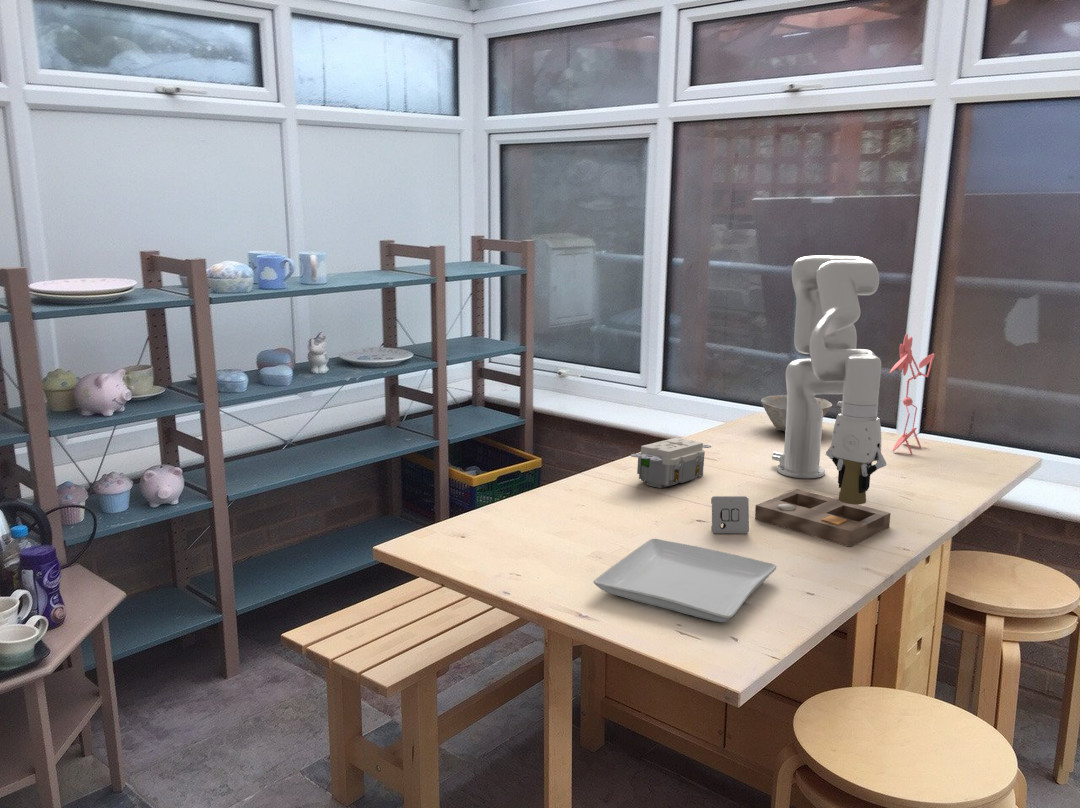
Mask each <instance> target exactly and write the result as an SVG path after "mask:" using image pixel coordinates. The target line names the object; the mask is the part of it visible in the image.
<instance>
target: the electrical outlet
mask: <svg viewBox="0 0 1080 808" xmlns="http://www.w3.org/2000/svg"><path fill="white" fill-rule="evenodd" d="M710 448H712V446H711V445H710V444H704V443H703V442H700V441H696V440H690V439H685V438H680V437H672V438H669V439H665V440H661V441H656V442H653V443H649V444H644V445H641V446H640V451H639V452H638V453H631V454H630V457H631V458H637V471H636V474H637V475H638V480H640V481H642V482H645V483H646V484H647V486H649V487H654V488H658V489H662V488H663V489H664V488H667V487H670V486H673V485H677V484H679V483H685V482H688V481H692V480H695V479H696V478H698V477H703V476H704V465H705V464H704V463H705V450H704V449H710Z"/></svg>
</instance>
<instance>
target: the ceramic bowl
mask: <svg viewBox="0 0 1080 808" xmlns="http://www.w3.org/2000/svg"><path fill="white" fill-rule="evenodd" d="M815 399H816V400H817V401H818V403H819V404H820V405H821V407H822V410H823V418H825V416H826V415H827V413H828V412H829V410H830V409H831V408H832V406H833V403H832V402H830V401H829V400H827V399H824V398H820V397H815ZM761 404H762V407H763V409H764V411H765V413H766V415H767V416H768V418H769V420H770V422H771V424H772V425H773V426H774V427H775V428H776V429H778V430H779V431H782V432H784V433H785V431H786V414H787V394H783V395H782V394H781V395H778V394H777V395H768V396H764V397H762V398H761Z"/></svg>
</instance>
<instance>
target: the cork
mask: <svg viewBox="0 0 1080 808" xmlns="http://www.w3.org/2000/svg"><path fill="white" fill-rule="evenodd" d="M843 463H844V466H845V471H844V475H843V480H842V485H841V488H839V494H838V498H837V499H838V500H839V501H841V502H843V503H847V504H858V505H865V504H866V503H867V493H866V492H867V491H866V492H863V493H859V477H860V476H861V475H862V468H861V465H862V463H857V462H853V461H848V460H843Z"/></svg>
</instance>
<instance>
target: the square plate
mask: <svg viewBox="0 0 1080 808" xmlns="http://www.w3.org/2000/svg"><path fill="white" fill-rule="evenodd" d="M777 567H778V566H777V565H776V564H774V563H770V562H767V561H762V560H758V559H755V558H749V557H746V556H742V555H737V554H734V553H733V554H732V553H729V552H724V551H722V550H721V551H720V550H717V549H716V550H715V549H710V548H707V547H701V546H696V545H691V544H686V543H680V542H676V541H670V540H665V539H660V538H650V539H648V540H647V541H646V542H644V543H642V545H640V546H638V547H637V548H635V550H633V551H632V552H630V553H628V554H627V555H625V556H624V557H623V558H622V559H620V560H619V561H618V562H616V563H615V564H614V565H612V566H611V567H610V568H608V569H607V570H606V571H604V572H603V573H602V574H600V575H599V576H598V577H596V578H595V579H594V580H593V581H592V582H593V584H594V585H596V587H597V588H599V589H600V590H602V591H603V592H605V593H607V594H611V595H614V596H618V597H621V598H626V599H628V600H632V601H634V602H638V603H643V604H647V605H650V606H654V607H657V608H658V607H659V608H662V609H665V610H670V611H673V612H678V613H681V614H685V615H688V616H691V617H694V618H695V617H696V618H699V619H703V620H708V621H712V622H717V623H726V622H728V621H729V620H730V619H731V618H732V617H734V616H735V615H736V614H737V612H738V611H739V610H740V609H741V607H742V606H743V604H744V603H745V602H746V601H747V599H748V598H749V597H750V595H752V594H753V593H754V591H755V590H756V589H758V588H759V587H760V586H761V585H762V584H763V583H764V582H765V581H766V580H767V578H769V577H770V576H771V575H772V574H773V573H774V572H775V571H776V569H777Z"/></svg>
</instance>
